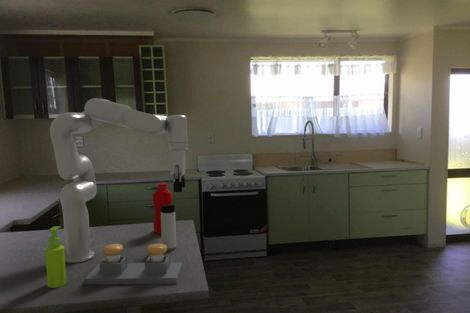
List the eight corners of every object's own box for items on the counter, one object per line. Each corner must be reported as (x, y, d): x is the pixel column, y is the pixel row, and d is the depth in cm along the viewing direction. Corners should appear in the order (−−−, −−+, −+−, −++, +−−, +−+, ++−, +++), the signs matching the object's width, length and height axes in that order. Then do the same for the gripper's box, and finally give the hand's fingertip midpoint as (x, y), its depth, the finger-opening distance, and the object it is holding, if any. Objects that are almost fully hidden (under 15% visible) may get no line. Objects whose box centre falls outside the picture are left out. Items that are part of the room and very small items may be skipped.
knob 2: (146, 265, 130) (145, 250, 130) (150, 258, 137) (149, 243, 136) (165, 265, 130) (164, 249, 130) (168, 258, 137) (168, 243, 136)
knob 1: (101, 266, 130) (100, 250, 130) (107, 258, 137) (107, 244, 137) (120, 266, 130) (119, 250, 130) (125, 258, 137) (125, 243, 137)
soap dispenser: (70, 278, 132) (67, 224, 130) (61, 287, 125) (58, 230, 123) (53, 279, 132) (50, 225, 130) (44, 288, 125) (40, 231, 123)
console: (84, 284, 127) (84, 267, 127) (99, 268, 141) (99, 253, 141) (176, 283, 127) (176, 266, 127) (182, 267, 141) (182, 252, 140)
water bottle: (149, 230, 188) (147, 182, 185) (170, 228, 192) (168, 181, 190) (153, 236, 179) (151, 185, 177) (175, 232, 184) (173, 183, 182)
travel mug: (162, 251, 158) (161, 206, 156) (161, 246, 164) (160, 203, 162) (177, 250, 160) (175, 205, 158) (175, 245, 166) (174, 202, 164)
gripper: (171, 145, 152) (173, 185, 154) (164, 148, 135) (166, 194, 137) (189, 144, 152) (191, 185, 154) (185, 148, 135) (186, 193, 137)
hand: (179, 189), depth 145 cm, fingers open, 9 cm apart
